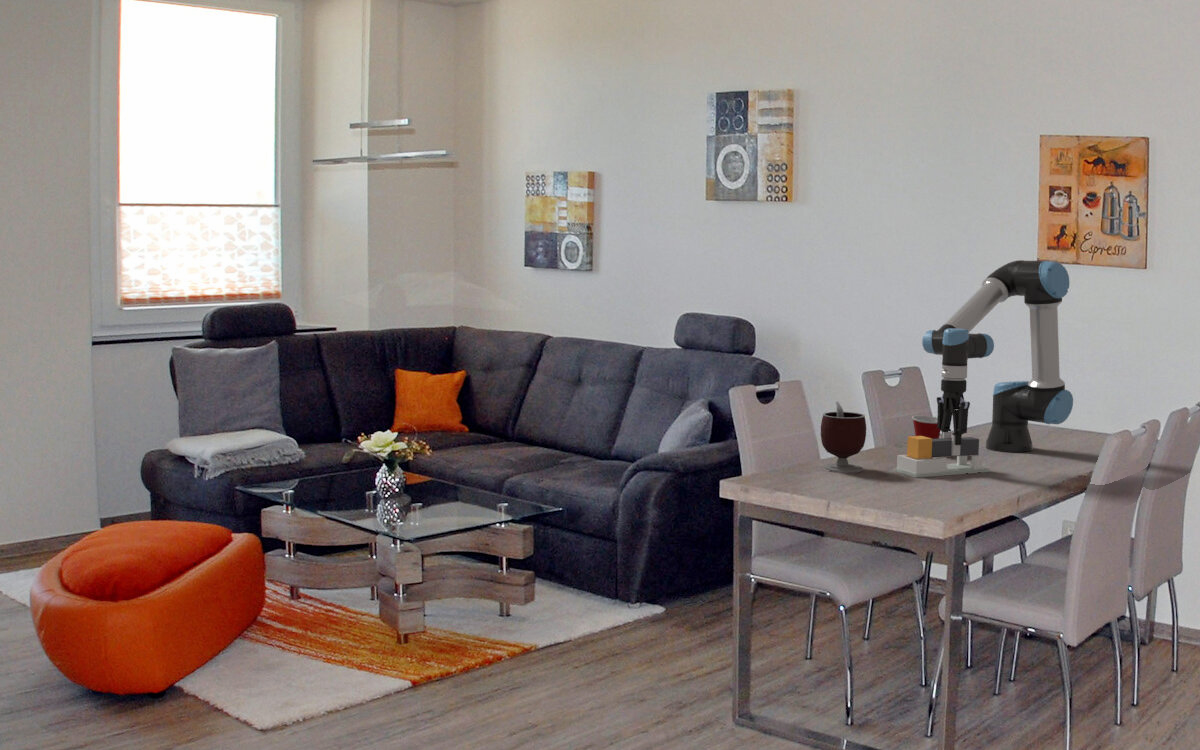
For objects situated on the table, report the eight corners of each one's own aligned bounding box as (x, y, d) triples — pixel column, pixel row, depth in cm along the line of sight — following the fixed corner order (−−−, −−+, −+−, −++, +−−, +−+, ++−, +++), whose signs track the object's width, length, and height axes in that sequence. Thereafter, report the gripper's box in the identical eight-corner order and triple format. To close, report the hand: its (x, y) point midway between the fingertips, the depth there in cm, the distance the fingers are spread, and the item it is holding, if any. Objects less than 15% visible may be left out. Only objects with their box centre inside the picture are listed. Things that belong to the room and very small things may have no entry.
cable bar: (968, 452, 394) (969, 433, 394) (979, 455, 389) (980, 436, 388) (906, 455, 386) (907, 436, 385) (917, 458, 381) (918, 439, 380)
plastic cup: (932, 457, 412) (934, 421, 411) (904, 452, 420) (905, 417, 418) (950, 453, 420) (951, 417, 418) (921, 449, 427) (922, 414, 426)
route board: (967, 465, 398) (967, 449, 397) (989, 471, 388) (990, 455, 387) (895, 470, 388) (895, 455, 388) (916, 477, 378) (916, 461, 377)
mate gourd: (870, 473, 384) (872, 408, 382) (825, 473, 383) (827, 408, 381) (856, 463, 400) (858, 401, 397) (813, 464, 399) (815, 401, 397)
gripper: (926, 376, 392) (924, 450, 395) (961, 382, 377) (958, 459, 379) (946, 375, 395) (943, 448, 398) (981, 381, 379) (978, 458, 382)
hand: (950, 453), depth 388 cm, fingers closed on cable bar, 4 cm apart
